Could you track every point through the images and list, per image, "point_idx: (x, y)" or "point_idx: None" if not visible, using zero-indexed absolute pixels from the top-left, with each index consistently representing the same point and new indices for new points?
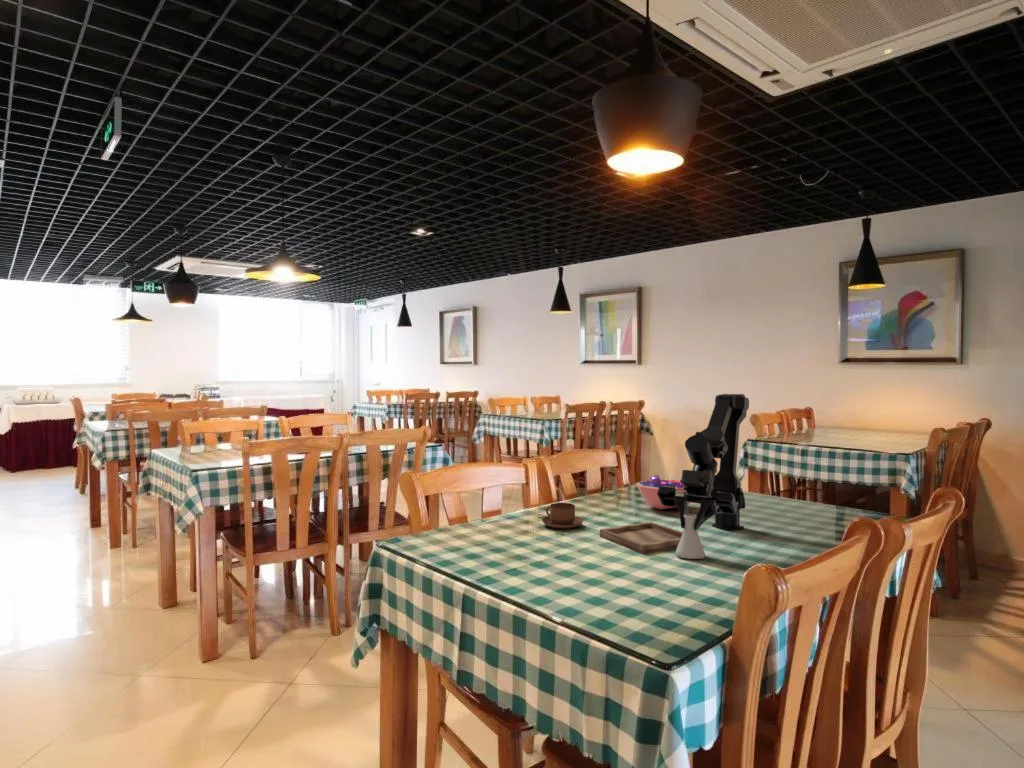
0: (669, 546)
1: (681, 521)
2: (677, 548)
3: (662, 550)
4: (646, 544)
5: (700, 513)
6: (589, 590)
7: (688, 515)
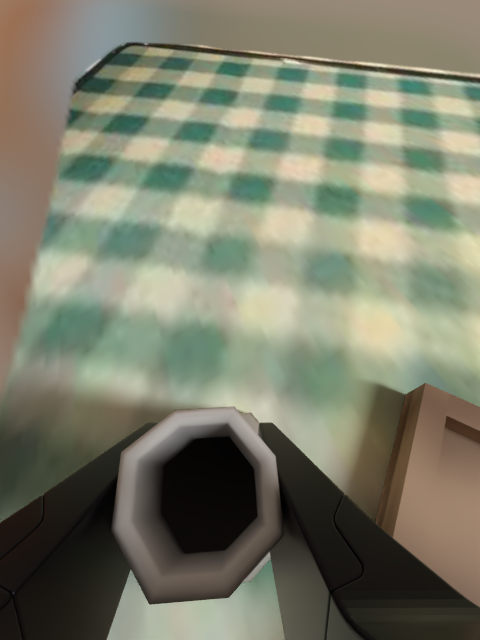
0: None
1: (281, 440)
2: None
3: (377, 513)
4: (432, 420)
5: (43, 519)
6: (320, 123)
7: (239, 548)
